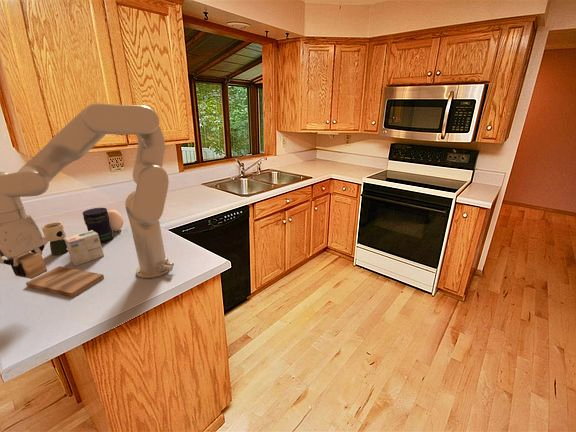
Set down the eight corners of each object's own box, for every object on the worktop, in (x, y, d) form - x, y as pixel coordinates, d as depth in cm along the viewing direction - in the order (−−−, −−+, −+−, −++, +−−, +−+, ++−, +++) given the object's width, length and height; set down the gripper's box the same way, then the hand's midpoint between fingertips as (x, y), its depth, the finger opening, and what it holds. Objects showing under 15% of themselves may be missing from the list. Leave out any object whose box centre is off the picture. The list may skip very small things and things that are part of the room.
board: (104, 278, 107) (103, 274, 106) (73, 297, 96) (72, 293, 96) (60, 269, 113) (59, 266, 113) (27, 286, 102) (25, 282, 102)
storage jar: (94, 246, 132) (85, 216, 127) (87, 240, 138) (79, 211, 133) (117, 239, 139) (110, 210, 134) (110, 234, 145) (103, 206, 140)
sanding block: (47, 271, 90) (41, 254, 88) (31, 278, 86) (24, 261, 84) (31, 268, 92) (25, 251, 90) (15, 275, 88) (8, 258, 86)
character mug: (62, 257, 123) (53, 229, 118) (44, 259, 122) (34, 230, 117) (75, 246, 133) (68, 220, 128) (58, 247, 132) (50, 221, 127)
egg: (123, 232, 147) (118, 211, 143) (105, 234, 145) (100, 213, 141) (126, 227, 154) (121, 206, 150) (109, 229, 152) (104, 208, 148)
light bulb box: (98, 251, 127) (92, 229, 124) (104, 256, 123) (98, 233, 120) (70, 261, 120) (63, 237, 116) (75, 266, 116) (68, 241, 112)
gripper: (-20, 228, 73) (7, 288, 80) (48, 207, 88) (66, 259, 95) (-39, 226, 76) (-11, 284, 82) (31, 205, 91) (50, 256, 97)
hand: (30, 270), depth 89 cm, fingers closed on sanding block, 4 cm apart
